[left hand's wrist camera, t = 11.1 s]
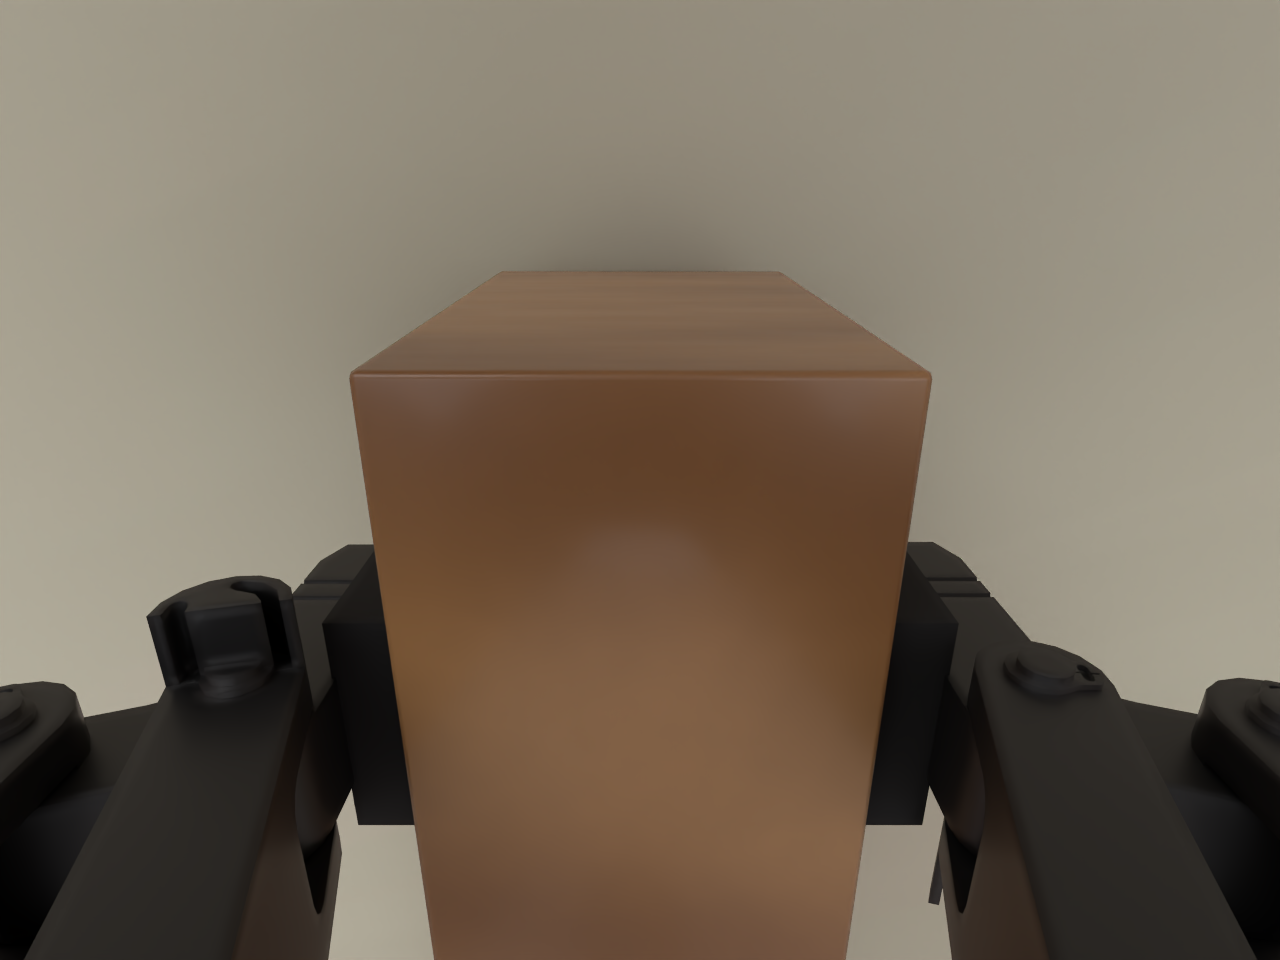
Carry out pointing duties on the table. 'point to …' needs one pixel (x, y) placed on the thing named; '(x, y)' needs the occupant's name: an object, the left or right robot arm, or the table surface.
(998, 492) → the table surface
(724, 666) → the beam
